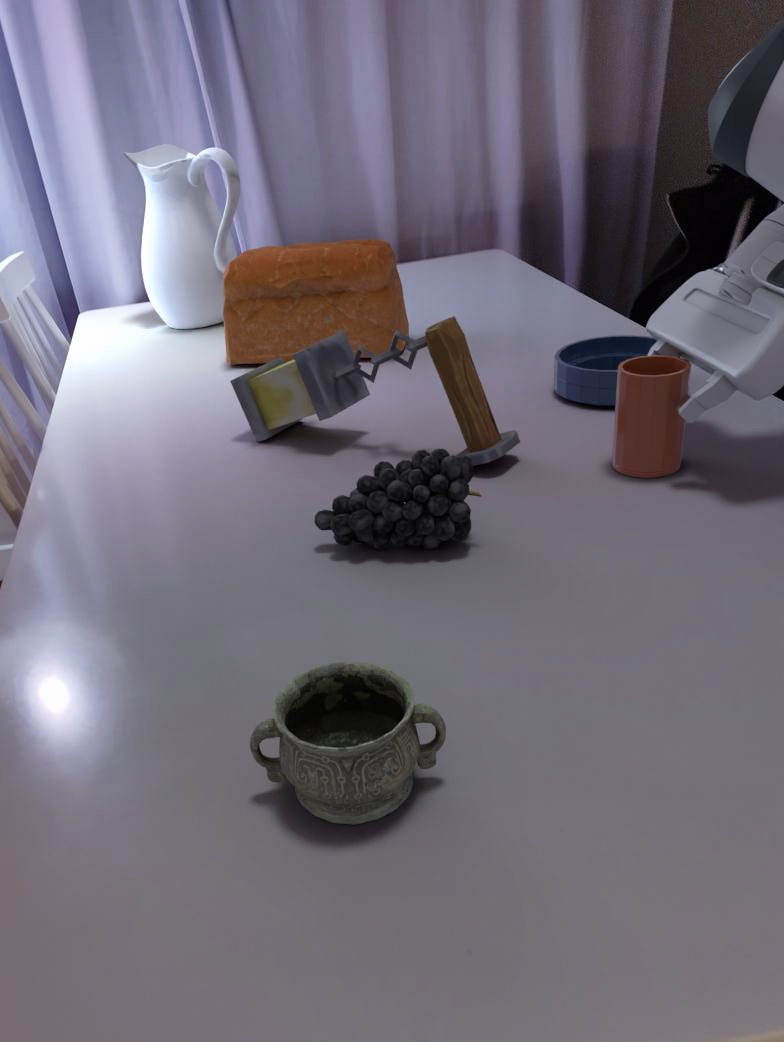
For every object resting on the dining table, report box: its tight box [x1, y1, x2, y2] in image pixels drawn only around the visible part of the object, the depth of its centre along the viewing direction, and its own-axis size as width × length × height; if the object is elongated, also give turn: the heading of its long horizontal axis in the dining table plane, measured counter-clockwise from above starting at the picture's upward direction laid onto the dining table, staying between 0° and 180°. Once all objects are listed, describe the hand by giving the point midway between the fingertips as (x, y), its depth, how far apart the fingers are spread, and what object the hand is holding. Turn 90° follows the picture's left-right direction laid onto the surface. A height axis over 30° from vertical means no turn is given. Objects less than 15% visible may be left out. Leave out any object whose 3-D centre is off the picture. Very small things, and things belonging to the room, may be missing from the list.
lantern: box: [229, 315, 521, 467], centre depth 104 cm, size 8×17×30 cm
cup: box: [611, 355, 692, 479], centre depth 91 cm, size 6×6×10 cm
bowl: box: [553, 334, 681, 407], centre depth 112 cm, size 14×14×4 cm
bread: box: [223, 238, 410, 366], centre depth 138 cm, size 14×27×15 cm, turn 77°
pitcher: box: [123, 143, 241, 330], centre depth 158 cm, size 24×17×28 cm
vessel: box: [249, 661, 447, 826], centre depth 57 cm, size 12×9×6 cm
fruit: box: [314, 448, 483, 551], centre depth 84 cm, size 9×8×15 cm
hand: (659, 401), depth 90 cm, fingers open, 8 cm apart
